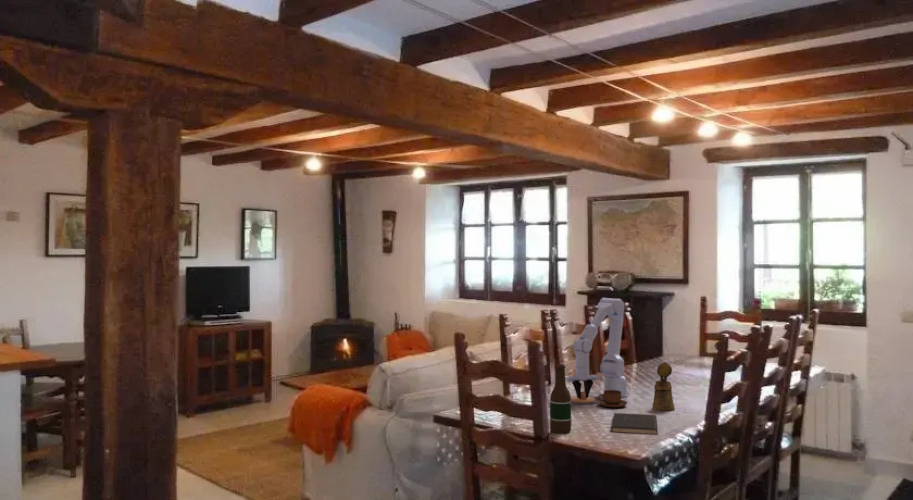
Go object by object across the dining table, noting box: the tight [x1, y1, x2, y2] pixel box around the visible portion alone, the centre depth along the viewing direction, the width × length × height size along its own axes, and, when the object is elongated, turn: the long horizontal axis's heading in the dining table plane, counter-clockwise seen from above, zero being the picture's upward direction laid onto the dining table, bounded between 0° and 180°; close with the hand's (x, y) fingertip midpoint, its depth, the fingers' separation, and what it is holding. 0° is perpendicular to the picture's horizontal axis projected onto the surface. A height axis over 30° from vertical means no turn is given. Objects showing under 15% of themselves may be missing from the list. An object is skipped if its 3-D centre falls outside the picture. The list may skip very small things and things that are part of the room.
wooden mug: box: [652, 361, 675, 412], centre depth 297 cm, size 9×14×18 cm, turn 158°
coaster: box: [571, 399, 600, 406], centre depth 310 cm, size 12×12×1 cm
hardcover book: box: [611, 412, 659, 435], centre depth 266 cm, size 16×23×2 cm
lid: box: [571, 391, 596, 403], centre depth 310 cm, size 11×11×4 cm
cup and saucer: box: [597, 390, 628, 409], centre depth 300 cm, size 12×12×6 cm
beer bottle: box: [549, 363, 572, 434], centre depth 258 cm, size 8×8×24 cm
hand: (582, 397), depth 310 cm, fingers closed on lid, 3 cm apart
